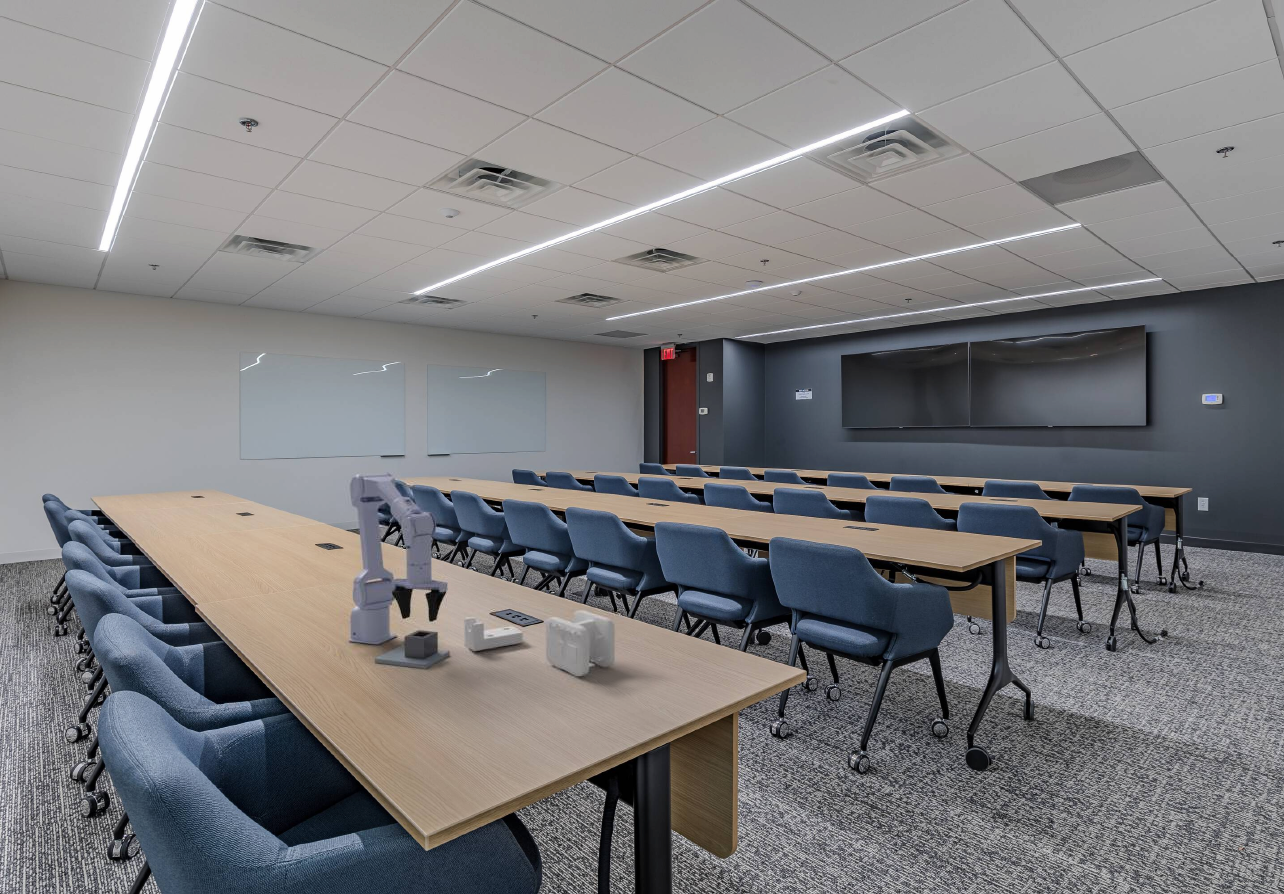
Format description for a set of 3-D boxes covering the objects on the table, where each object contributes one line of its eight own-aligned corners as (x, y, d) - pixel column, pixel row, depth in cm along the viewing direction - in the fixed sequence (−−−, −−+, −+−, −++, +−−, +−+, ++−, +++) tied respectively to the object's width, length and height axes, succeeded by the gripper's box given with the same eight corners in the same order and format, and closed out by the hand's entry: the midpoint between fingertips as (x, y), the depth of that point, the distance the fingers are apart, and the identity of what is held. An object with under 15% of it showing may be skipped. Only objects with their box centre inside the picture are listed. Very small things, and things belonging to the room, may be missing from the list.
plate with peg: (374, 662, 162) (374, 643, 161) (401, 649, 171) (401, 631, 171) (424, 668, 157) (424, 649, 157) (449, 655, 167) (449, 636, 167)
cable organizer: (617, 670, 156) (617, 620, 156) (581, 681, 149) (581, 629, 149) (578, 654, 168) (578, 607, 167) (543, 664, 161) (543, 615, 160)
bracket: (473, 654, 168) (473, 624, 168) (464, 647, 174) (464, 618, 174) (522, 645, 175) (522, 616, 175) (512, 638, 181) (512, 610, 181)
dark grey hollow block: (404, 657, 162) (404, 636, 162) (418, 650, 168) (418, 630, 167) (424, 659, 161) (424, 638, 161) (437, 652, 166) (437, 632, 166)
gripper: (382, 564, 161) (383, 620, 162) (435, 568, 157) (435, 626, 157) (401, 559, 168) (402, 613, 168) (452, 562, 164) (452, 618, 164)
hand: (419, 619), depth 163 cm, fingers open, 7 cm apart
